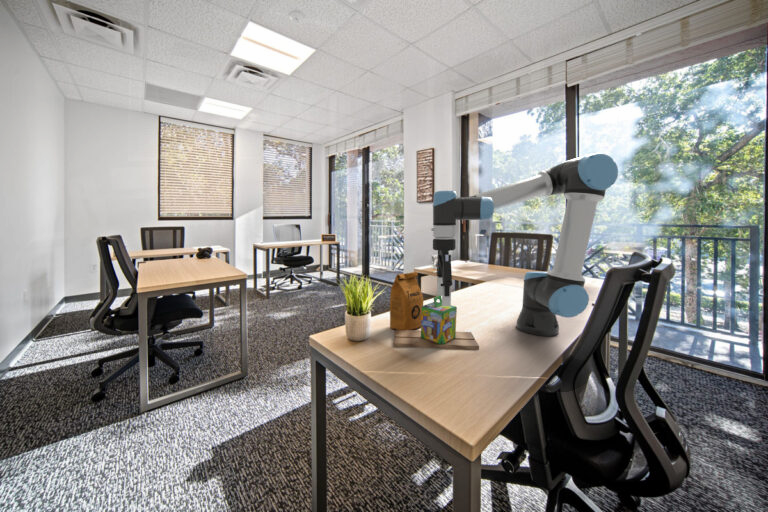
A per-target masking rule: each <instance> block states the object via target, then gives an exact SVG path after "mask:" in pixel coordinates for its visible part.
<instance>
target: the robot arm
mask: <svg viewBox="0 0 768 512" xmlns="http://www.w3.org/2000/svg"><path fill="white" fill-rule="evenodd" d="M618 176H619V169H618V164H617V163H616V161H614V159H613V158H612V156H610V155H609V154H606V153H602V152H596V153H589V154H585V155H582V156H580V157H576V158H572V159H569V160H566V161H563V162H561V163H559V164H557V165H554V166H552V167H549V168H547V169H544V170H541V171H539V172H538V173H537V175H535V176H531V177H528V178H526V179H525V178H524V179H522V180H518V181H515V182H512V183H509V184H505V185H503V186H499V187H496V188H493V189H490V190H487V191H483V192H480V193H476V194H474V195H471V196H465V197H462V196H458V195H457V192H456V191H455V190H438V191H435V192H434V193H433V201H432V203H433V204H432V225H433V226H432V227H433V228H430V230H431V232H432V236H433V237H434V238H433V239H432V249H433V251H437V265H436V272H435V273H436V296H439V295H441V298H442V306H452V305H451V304H452V300H451V299H452V286H453V277H452V276H453V275H452V273H453V272H452V254H450V251H455V250H456V248H457V247H456V241H457V240H456V239H455V238H456V237H457V221H476V220H477V221H485V220H490V219H491V218H492V217H493V216H494V211H496V210H499V209H503V208H505V207H509V206H511V205H515V204H519V203H522V202H525V201H528V200H531V199H535V198H538V197H541V196H543V197H546V198H549V197H550V196H554V195H560V194H563V196H564V198H565V199H566V200H567V202H566V205H565V206H566V208H565V211H564V215H563V220H562V225H561V229H560V235H559V240H558V243H557V247H556V248H557V249H556V253H555V257H554V262H553V267H552V269H550V270H549V271H527V272H525V274H524V279H523V288H522V289H523V291H522V307H521V310H520V313H519V315H518V317H517V319H516V324H515V326H516V329H518V330H520V331H521V332H524V333H526V334H530V335H535V336H542V337H543V336H544V337H552V336H556V335H558V334H559V333H560V332H559V331H560V325H559V321H558V318H557V316H559V317H561V318H565V319H566V318H567V319H568V318H569V319H571V318H575V317H577V316H578V315H581V314H582V313H583V312H584V311H585V310H586V309H587V307H588V305H589V301H590V297H589V296H590V295H589V294H588V292H587V290H586V289H585V283H586V279H585V277H584V276H583V275H582V272H583V268H584V263H585V259H586V254H587V252H588V251H587V250H588V246H589V241H590V238H591V232H592V229H593V223H594V221H595V220H594V218H595V215H596V209H597V206H598V203H599V202H600V201H602V200H603V199H604V198H605V196H606V191H607V190H608V189H609V188H610V187H612V186H613V185H614V184H615V183H616V181H617V179H618Z"/></svg>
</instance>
